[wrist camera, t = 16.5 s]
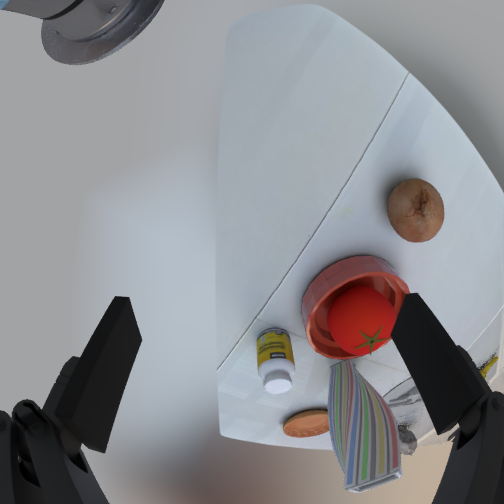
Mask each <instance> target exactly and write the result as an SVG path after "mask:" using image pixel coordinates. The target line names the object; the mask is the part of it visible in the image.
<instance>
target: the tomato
mask: <svg viewBox="0 0 504 504" xmlns="http://www.w3.org/2000/svg"><path fill="white" fill-rule="evenodd" d="M395 322H396V313H395V310H394V307H393V306H392V304H391V303H390V302H389V301H388V300H387V299H386V297H385V296H384V295H382V294H381V293H380V292H379V291H377V290H376V289H374V288H372V287H368V286H356V287H353V288H351V289H349V290H347V291H346V292H344V293H343V294H342V295H340V296H339V297H338V298H337V299H336V300H335V301H334V302H333V304H332V305H331V307H330V309H329V311H328V313H327V325H328V328H329V331H330V333H331V335H332V337H333V339H334V340H335V341H336V343H337V344H338V345H339V346H340V347H341V348H342V349H343V350H345V351H346V352H348V353H350V354H353V355H365V354H368V353H370V355H371V352H373V351H375V350H377V349H378V348H379V347H381V346H382V345H383V344H384V343H385V342H386V341H387V340H388V339H390V334H391V332H392V329H393V327H394V324H395Z"/></svg>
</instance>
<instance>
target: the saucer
mask: <svg viewBox="0 0 504 504" xmlns="http://www.w3.org/2000/svg"><path fill="white" fill-rule="evenodd" d="M327 431H329V421H328V412H327V411H324V410H310V411H305V412H302V413H299V414H297V415H295V416H293V417H291V418H290V419H289V420H288V421H287V422H286V423H285V424H284V426H283V432H284V433H285V434H286V435H288V436H291V437H298V438H303V437H311V436H316V435H320V434H323V433H325V432H327Z"/></svg>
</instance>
